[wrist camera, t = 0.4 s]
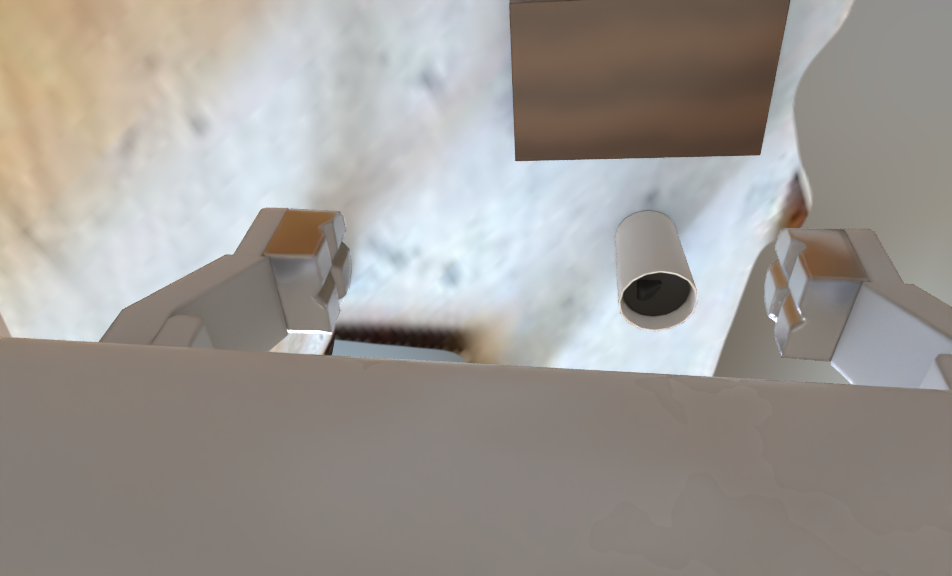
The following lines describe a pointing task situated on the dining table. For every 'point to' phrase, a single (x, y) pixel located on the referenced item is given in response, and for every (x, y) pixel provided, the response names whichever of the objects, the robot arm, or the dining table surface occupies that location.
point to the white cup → (653, 273)
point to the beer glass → (308, 342)
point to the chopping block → (643, 77)
